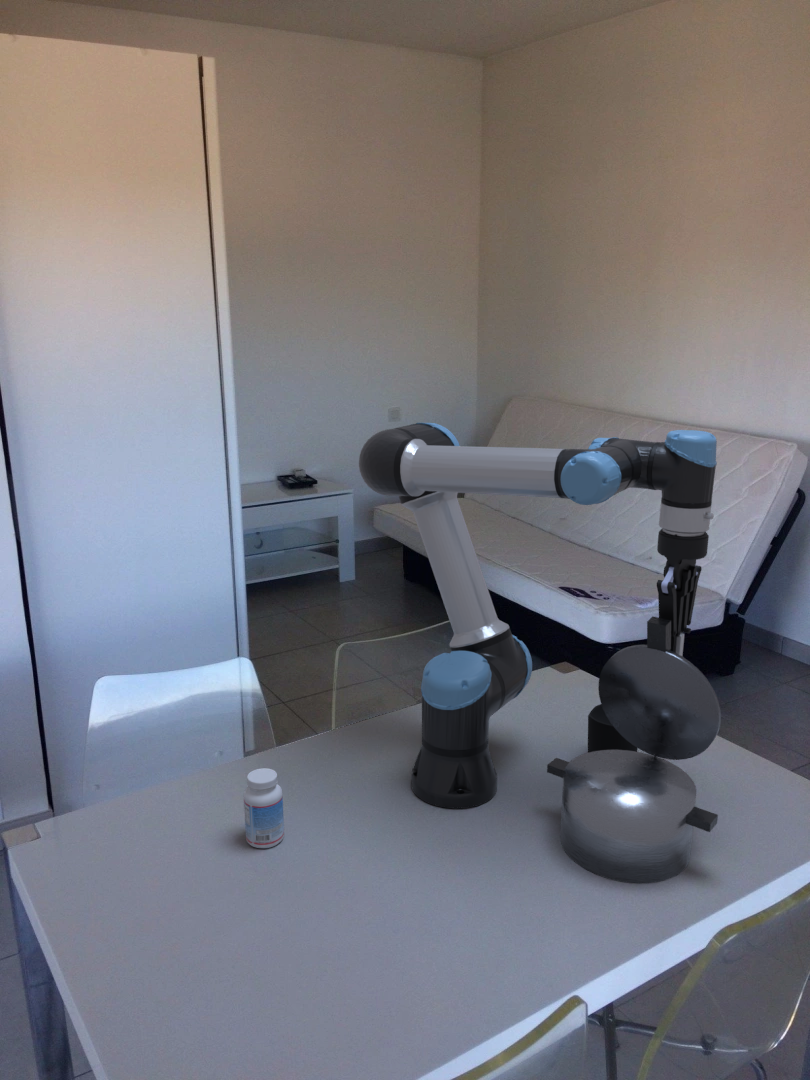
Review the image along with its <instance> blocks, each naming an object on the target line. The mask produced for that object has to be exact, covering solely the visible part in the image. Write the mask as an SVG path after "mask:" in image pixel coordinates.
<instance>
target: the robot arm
mask: <svg viewBox="0 0 810 1080" xmlns="http://www.w3.org/2000/svg"><path fill="white" fill-rule="evenodd" d="M717 445H718V444H717V438H716V436H715V435H714V434H712V433H711V432H710V431H709V432H708V431H704V430H696V429H692V430H691V429H689V430H688V429H687V430H685V429H677V430H670V431H668V433H667V434H666V437H665V440H664V441H660V442H659V441H647V440H646V441H645V440H637V439H636V440H635V439H626V438H619V437H615V436H614V437H597V438H595V439H593V440H592V441H591V443H590V445H589V446H588V448H587V449H584V448H583V449H582V448H570V449H569V448H547V447H545V448H544V447H540V448H539V447H509V446H508V447H504V446H503V447H501V446H500V447H499V446H473V445H472V446H466V445H464V446H463V445H462V446H461V445H460V443H459V441H458V439H457V437H456V436H455V435H454V434H453V433H452V431H450V430H449V429H448V428H447V427H445V426H443V425H441V424H438V423H434V422H416V423H412V424H409V425H403V426H399V427H395V428H394V427H393V428H389V429H383V430H381V431H377V432H376V433H375V434H373V435H372V436H370V437H369V438H368V439H367V441H365V443H364V444H363V446H362V448H361V449H360V453H359V456H358V467H359V468H358V469H359V472H360V476H361V478H362V480H363V481H364V483H365V484H366V485H367V487H368V488H369V489H371V490H372V491H373V492H375V493H378V494H379V495H382V496H387V497H398V498H399V502H400V504H401V506H402V507H404V508H406V509H407V510H409V511H411V513H412V514H413V517H414V520H415V523H416V525H417V529H418V532H419V534H420V537H421V541H422V544H423V547H424V549H425V552H426V555H427V558H428V561H429V564H430V567H431V570H432V573H433V576H434V579H435V581H436V584H437V587H438V590H439V593H440V597H441V599H442V602H443V606H444V608H445V611H446V614H447V616H448V620H449V623H450V627H451V629H452V632H453V636H452V638H451V640H450V642H449V644H448V645H449V647H450V650H451V651H450V653H448V652H443V653H440V654H438V655H436V656H434V657H432V658H431V659H430V660H429V661H428V662H427V663H426V665H425V666H424V669H423V672H422V680H421V684H420V692H421V746H420V749H419V751H418V754H417V757H416V759H415V761H414V765H413V768H412V770H411V789H412V792H413V793H414V794H415V795H416V796H417V798H419V799H420V800H422V801H423V802H426V803H427V804H430V805H432V806H437V807H440V808H446V809H467V808H474V807H477V806H480V805H482V804H485V803H487V802H488V801H490V800H491V799H492V798H493V797H494V796H495V794H496V793H497V790H498V773H497V771H496V769H495V766H494V762H493V758H492V756H491V752H490V749H489V735H490V734H489V733H490V731H489V723H490V719H491V717H492V716H494V715H495V714H496V713H497V712H498V711H499V710H500V709H502V708H503V707H504V706H506V705H507V704H508V703H509V702H511V701H512V700H514V699H516V698H517V697H518V696H519V695H520V694H521V693H522V691H523V690H524V688H525V687H526V686H527V685H528V683H529V681H530V679H531V677H532V673H533V661H532V660H533V659H532V656H531V653H530V650H529V648H528V647H527V645H526V644H525V643H524V642H523V640H520V639H518V636H515V635H514V634H512V631H511V627H510V625H509V624H508V623H506V622H504V621H502V620H500V619H499V618H498V615H497V612H496V609H495V606H494V603H493V600H492V596H491V594H490V591H489V588H488V586H487V583H486V580H485V577H484V574H483V571H482V568H481V565H480V562H479V558H478V556H477V553H476V550H475V547H474V545H473V542H472V538H471V535H470V532H469V529H468V526H467V523H466V521H465V517H464V514H463V512H462V509H461V505H460V503H459V502H460V501H459V500H458V494H476V495H477V494H478V495H479V494H480V495H497V496H498V495H499V496H513V497H515V496H517V497H531V498H532V497H533V498H534V497H535V498H552V499H554V498H555V499H564V500H565V499H566V500H571V501H573V502H574V503H576V504H578V505H582V506H592V505H596V504H597V505H598V504H601V503H604V502H606V501H608V500H609V499H610V498H612V497H613V496H616V495H617V494H620V493H621V492H624V491H625V490H628V489H629V488H634V489H644V490H645V489H646V490H652V491H661V499H660V509H659V521H658V526H659V527H660V528H661V529H660V530H659V531H658V536H657V545H656V546H657V548H656V551H657V552H658V554H659V555H660V556H662V557H665V558H666V562H665V566H664V568H663V577H664V578H663V580H662V579H657V581H656V589H657V594H658V599H657V600H658V618H663V619H667V620H671V649H670V650H671V651H673V652H675V653H677V654H679V655H681V656H682V657H684V656H683V654H684V653H683V652H684V645H685V644H684V643H685V634H690V633H691V631H692V628H690V627H688V626H690V625H691V623H692V617H693V611H694V606H695V601H696V595H697V589H698V583H699V581H700V580H699V579H700V575H701V573H702V569H703V568H702V566H701V565H697V560H702V559H704V558H706V556H707V555H708V547H709V535H708V531H709V530H710V522H711V520H713V519H714V514H713V513H711V511H712V504H713V493H714V483H715V475H716V467H717V463H718V462H717Z"/></svg>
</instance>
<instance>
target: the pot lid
mask: <svg viewBox="0 0 810 1080" xmlns="http://www.w3.org/2000/svg"><path fill="white" fill-rule="evenodd" d="M646 629H647V630H646V632H647V633H646V639H647V640H646V644H634V645H631V646H627V647H624V648H622V649H620V650H618V651H617V652H616V653H614V654H613V655H612V656H611V657H610V658H609V659H607V661H606V663H605V664H604V665H603V667H602V668H601V672H600V675H599V677H598V686H597V687H598V688H597V690H598V696H599V700H600V704H602V707H603V710H604V712H605V714H606V716H607V717H608V719H609V721H610V722H611V724H612V725H613V726H614V728H615V729H616V730H617V731H618V732H619V733H620V734H621V735H622V736H623V737H624V738H625V739H626V740H627V741H628V742H630V743H631V744H632V745H634V746H635V747H637V748H638V749H639V750H640V751H642V752H643V753H645V754H649V755H653V756H656V757H659V758H661V759H664V760H670V761H671V760H672V761H674V760H675V761H676V760H677V761H680V760H688V759H691V758H694V757H697V756H699V755H701V754H703V753H704V752H705V751H707V749H708V748H709V747H710V746H711V745H712V744H713V742H714V741H715V739H717V738H716V737H717V736H718V734H719V730H720V728H721V722H722V712H721V705H720V703H719V699H718V696H717V693H716V692H715V690H714V687H713V686H712V685H711V683H710V682H709V679H708V678H707V677H706V676H705V675H704V673H703V672H702V670H700V669H699V668H698V667H697V666H695V665H694V664H693V663H692V662H691V661H690V660H688V659H686V657H684V656H681V655H679V654H677V653H675V652H673V651H671V650H670V649H671V620H667V619H663V618H659V616H658V617H657V616H654V615H653V616H651V617H650V618H649V619H648V620H647V621H646Z"/></svg>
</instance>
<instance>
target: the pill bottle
mask: <svg viewBox="0 0 810 1080" xmlns="http://www.w3.org/2000/svg"><path fill="white" fill-rule="evenodd" d="M246 781H247V782H246V784H247V787H246V789H245V790H244V792H243V808H244V810H243V811H244V826H245V839H246V843H247V844H248V845H250V846H251V847H254V848H258V849H268V848H269V849H270V848H272V847H275V846H277V845H278V844H279V843H281V842H282V841H283V839H284V838H285V824H284V823H285V821H284V820H285V819H284V799H283V797H284V796H283V794H284V793H283V790H282V787H281V786H280V785H279V784H278V773H277V771H275V770H274V769H272V768H264V767H263V768H256V769H254V770H252V771H250V772H249V773H248V774H247V776H246Z"/></svg>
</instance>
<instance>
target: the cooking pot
mask: <svg viewBox="0 0 810 1080" xmlns="http://www.w3.org/2000/svg"><path fill="white" fill-rule="evenodd" d="M546 766H547V767H546V773H548V774H551V775H553V776H556V777H559V778H561V779H562V795H561V813H560V814H561V815H560V832H559V833H560V834H559V841H560V844H561V847H562V848H563V850H564V852H565V854H566V855H567V856H568V858H570V859H571V860H572V861H573V862H574V863H575V864H577V865H578V866H580V867H581V868H583V870H584V869H585V870H586V871H588V872H589V873H593V874H595V875H597V876H600V877H603V878H605V879H609V880H613V881H617V882H622V883H629V884H630V883H631V884H651V883H658V882H663V881H665V880H669V879H672V878H674V877H677V875H679V874H680V873H682V872H683V871H684V870H685V869H686V868H687V866H688V864H689V863H690V861H691V859H690V858H691V851H692V841H693V829H694V828H697V829H699V830H703V831H705V832H708V833H711V831H713V829H714V828H715V827H716V825H717V824H718V820H719V819H718V817H719V814H717V813H713V812H712V811H710V810H709V811H708V810H706V809H702V808H700V807H697V806H696V801H697V800H696V799H697V787H696V784H695V781H694V780H693V779H692V778H691V776H690V775H689V774H688V773H687V772H686V771H685V770H684V769H682V768H680V767H679V766H678V765H676V764H674V763H672V762H670V761H668V760H667V759H664V758H660V757H656V756H653V755H651V754H648V753H646V752H639V751H637V752H635V751H628V750H600V751H594V752H589V753H588V752H587V753H584V754H581V755H578V756H577V757H575V758H572V760H570V761H568V760H564V759H563V758H562V759H561V758H559V757H555V758H554V759H552V761H550V762H549V763H548V764H547V765H546Z"/></svg>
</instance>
